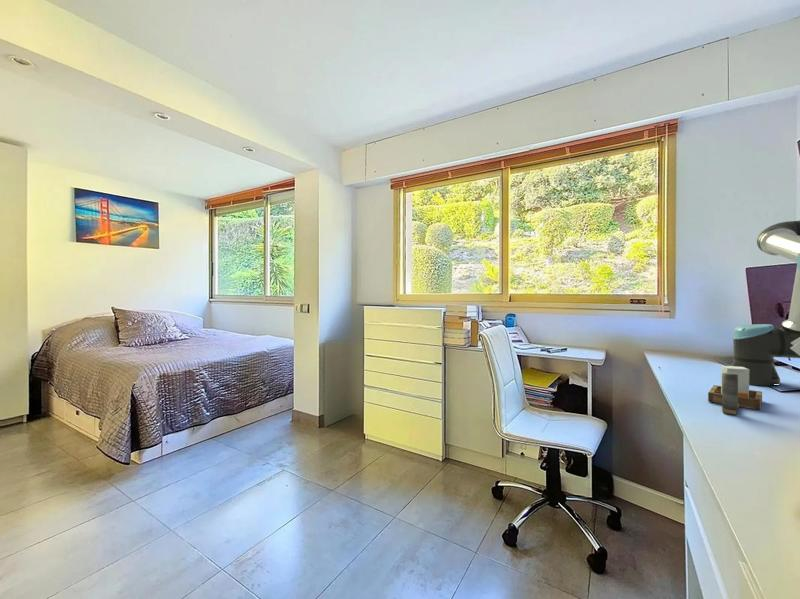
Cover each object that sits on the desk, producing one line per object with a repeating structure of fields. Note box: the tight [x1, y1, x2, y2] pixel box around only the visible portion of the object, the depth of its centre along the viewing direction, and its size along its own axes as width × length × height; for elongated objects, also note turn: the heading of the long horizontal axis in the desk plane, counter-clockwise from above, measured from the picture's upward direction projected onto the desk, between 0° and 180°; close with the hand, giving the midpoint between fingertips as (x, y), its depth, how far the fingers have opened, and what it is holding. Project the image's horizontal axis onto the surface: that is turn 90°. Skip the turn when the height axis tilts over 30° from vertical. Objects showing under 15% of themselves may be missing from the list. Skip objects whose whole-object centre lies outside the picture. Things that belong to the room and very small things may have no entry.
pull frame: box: [707, 373, 763, 416], centre depth 117 cm, size 24×12×12 cm, turn 132°
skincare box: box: [720, 365, 750, 398], centre depth 120 cm, size 6×4×12 cm
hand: (795, 349), depth 101 cm, fingers open, 13 cm apart
